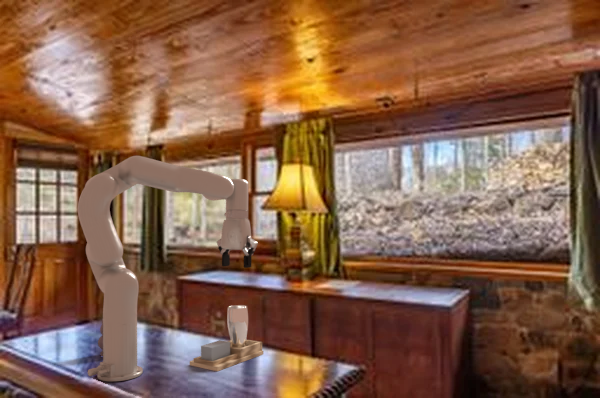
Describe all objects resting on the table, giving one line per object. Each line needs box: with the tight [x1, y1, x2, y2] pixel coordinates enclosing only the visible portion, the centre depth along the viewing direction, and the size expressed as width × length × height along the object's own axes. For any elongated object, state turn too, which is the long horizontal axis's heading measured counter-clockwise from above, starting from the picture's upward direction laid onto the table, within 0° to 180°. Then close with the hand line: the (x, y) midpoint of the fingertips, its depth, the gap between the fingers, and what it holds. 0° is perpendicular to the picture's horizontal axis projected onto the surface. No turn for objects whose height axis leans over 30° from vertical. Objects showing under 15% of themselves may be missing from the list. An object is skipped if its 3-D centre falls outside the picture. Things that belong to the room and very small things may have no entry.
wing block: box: [200, 339, 230, 361], centre depth 159 cm, size 8×4×5 cm, turn 147°
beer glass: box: [226, 304, 249, 348], centre depth 168 cm, size 7×7×15 cm
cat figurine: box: [97, 318, 103, 356], centre depth 171 cm, size 8×8×12 cm
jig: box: [189, 339, 264, 372], centre depth 164 cm, size 22×12×4 cm, turn 145°
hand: (236, 266), depth 169 cm, fingers open, 9 cm apart
